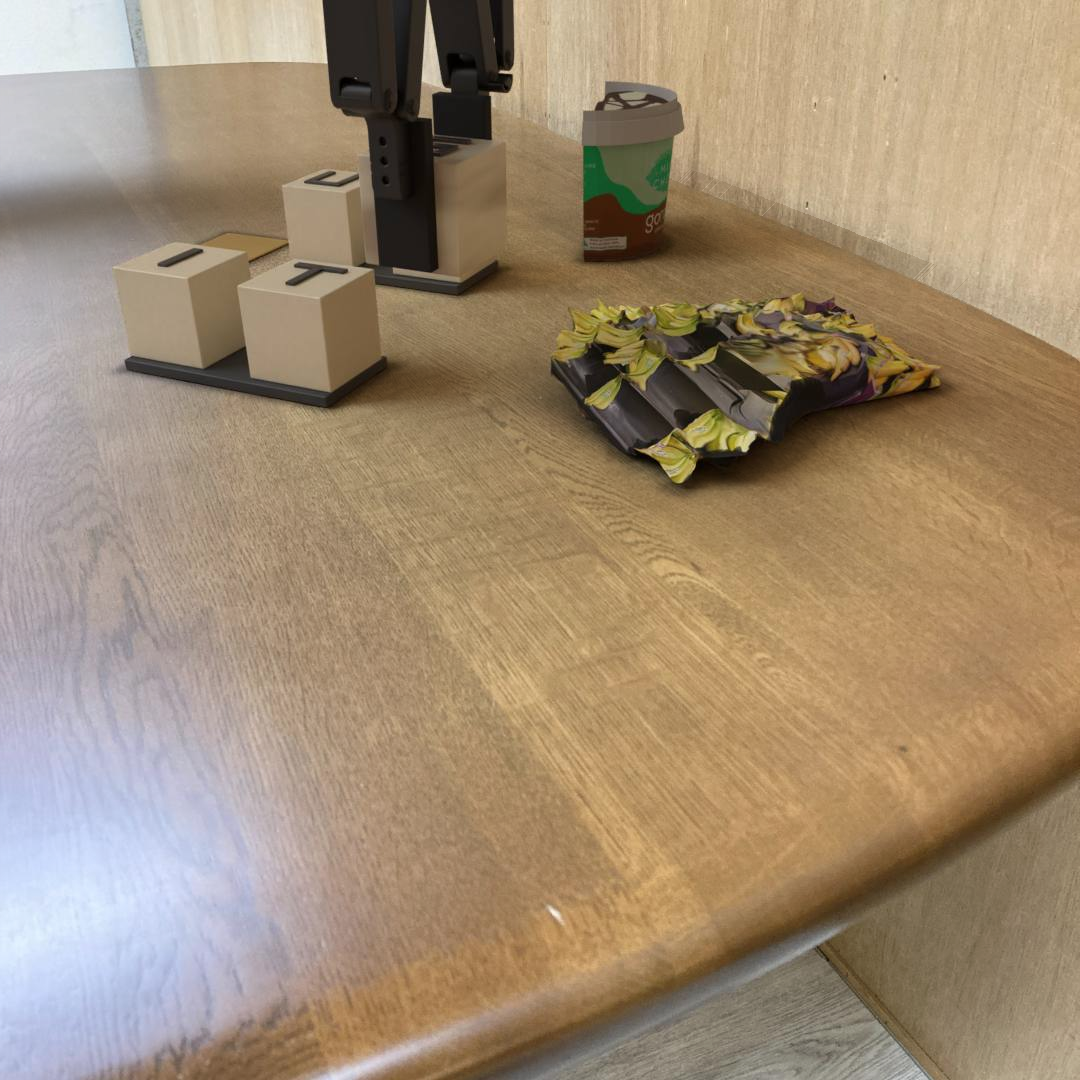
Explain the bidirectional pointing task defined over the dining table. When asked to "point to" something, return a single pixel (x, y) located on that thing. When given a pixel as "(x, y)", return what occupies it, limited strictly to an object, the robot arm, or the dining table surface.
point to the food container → (627, 169)
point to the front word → (250, 322)
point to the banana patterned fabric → (723, 373)
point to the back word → (339, 234)
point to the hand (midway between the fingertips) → (438, 248)
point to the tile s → (455, 203)
